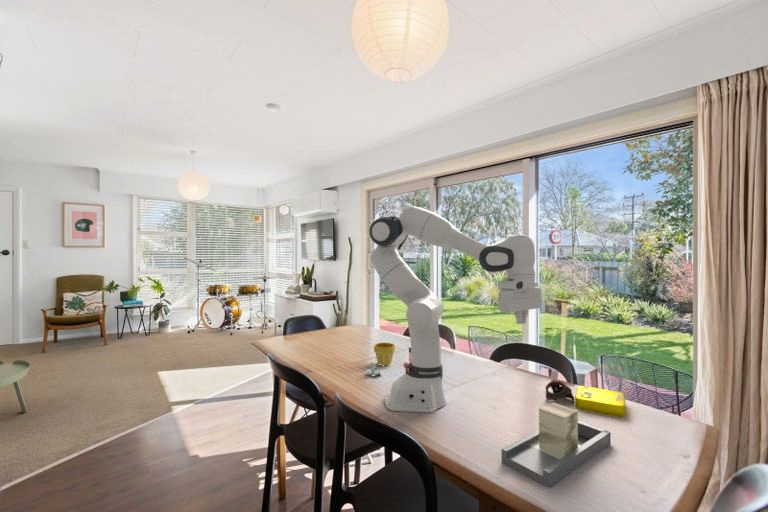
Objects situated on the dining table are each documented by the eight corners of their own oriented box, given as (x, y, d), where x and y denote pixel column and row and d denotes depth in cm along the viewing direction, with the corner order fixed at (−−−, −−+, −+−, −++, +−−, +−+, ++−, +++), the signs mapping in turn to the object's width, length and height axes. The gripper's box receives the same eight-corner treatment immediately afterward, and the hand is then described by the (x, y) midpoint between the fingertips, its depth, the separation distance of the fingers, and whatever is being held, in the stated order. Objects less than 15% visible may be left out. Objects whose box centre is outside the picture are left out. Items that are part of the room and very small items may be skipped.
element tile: (625, 420, 118) (625, 405, 118) (574, 409, 126) (574, 396, 126) (624, 404, 131) (624, 391, 131) (578, 395, 139) (578, 383, 139)
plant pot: (394, 367, 174) (394, 347, 174) (373, 367, 174) (373, 347, 175) (394, 361, 185) (394, 342, 185) (374, 361, 185) (374, 342, 185)
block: (564, 456, 92) (564, 417, 92) (539, 445, 98) (538, 408, 98) (577, 448, 96) (577, 410, 97) (552, 437, 102) (552, 402, 102)
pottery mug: (581, 407, 129) (573, 389, 127) (556, 417, 130) (548, 399, 128) (565, 387, 140) (558, 370, 138) (543, 396, 142) (535, 380, 140)
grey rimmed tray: (549, 488, 83) (549, 472, 83) (501, 462, 93) (501, 448, 93) (610, 444, 102) (610, 432, 102) (565, 427, 113) (565, 415, 113)
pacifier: (373, 372, 168) (364, 375, 164) (373, 358, 168) (364, 361, 164) (385, 375, 163) (376, 378, 159) (385, 361, 163) (376, 364, 159)
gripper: (529, 280, 130) (530, 319, 130) (494, 283, 118) (494, 325, 118) (546, 281, 124) (546, 321, 124) (511, 284, 112) (511, 328, 112)
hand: (521, 323), depth 121 cm, fingers closed
